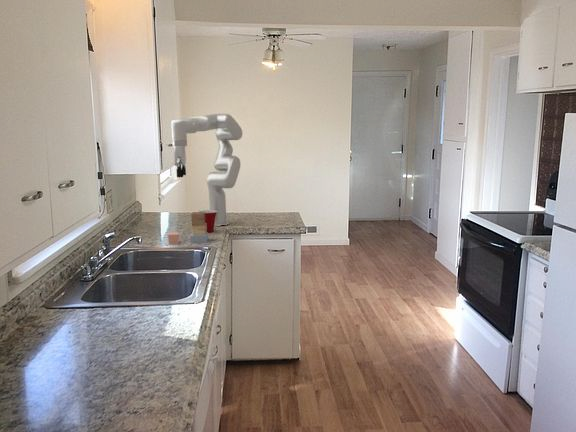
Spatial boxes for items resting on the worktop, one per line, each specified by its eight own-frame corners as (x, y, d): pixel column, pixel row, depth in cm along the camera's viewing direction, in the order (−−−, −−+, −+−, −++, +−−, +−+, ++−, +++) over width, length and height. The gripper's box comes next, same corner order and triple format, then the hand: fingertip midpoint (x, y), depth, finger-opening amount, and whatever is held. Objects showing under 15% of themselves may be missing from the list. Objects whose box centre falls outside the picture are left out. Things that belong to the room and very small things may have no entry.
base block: (192, 240, 261) (192, 232, 260) (208, 239, 261) (207, 232, 261) (190, 243, 253) (190, 236, 252) (206, 243, 254) (206, 235, 253)
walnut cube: (193, 223, 258) (193, 212, 257) (205, 223, 258) (204, 211, 257) (191, 225, 252) (191, 214, 251) (203, 225, 253) (203, 214, 251)
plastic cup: (221, 230, 283) (220, 209, 280) (213, 234, 272) (212, 212, 270) (203, 229, 286) (202, 208, 283) (195, 233, 275) (194, 211, 273)
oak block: (195, 232, 260) (194, 223, 259) (206, 232, 260) (206, 223, 259) (192, 235, 254) (192, 225, 253) (204, 235, 254) (204, 225, 253)
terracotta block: (168, 242, 255) (167, 232, 254) (178, 241, 257) (177, 232, 256) (168, 244, 251) (168, 234, 250) (179, 243, 252) (178, 234, 251)
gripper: (175, 143, 270) (177, 174, 273) (169, 144, 253) (171, 178, 256) (189, 142, 270) (190, 174, 273) (184, 144, 253) (186, 177, 256)
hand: (181, 176), depth 264 cm, fingers open, 9 cm apart
